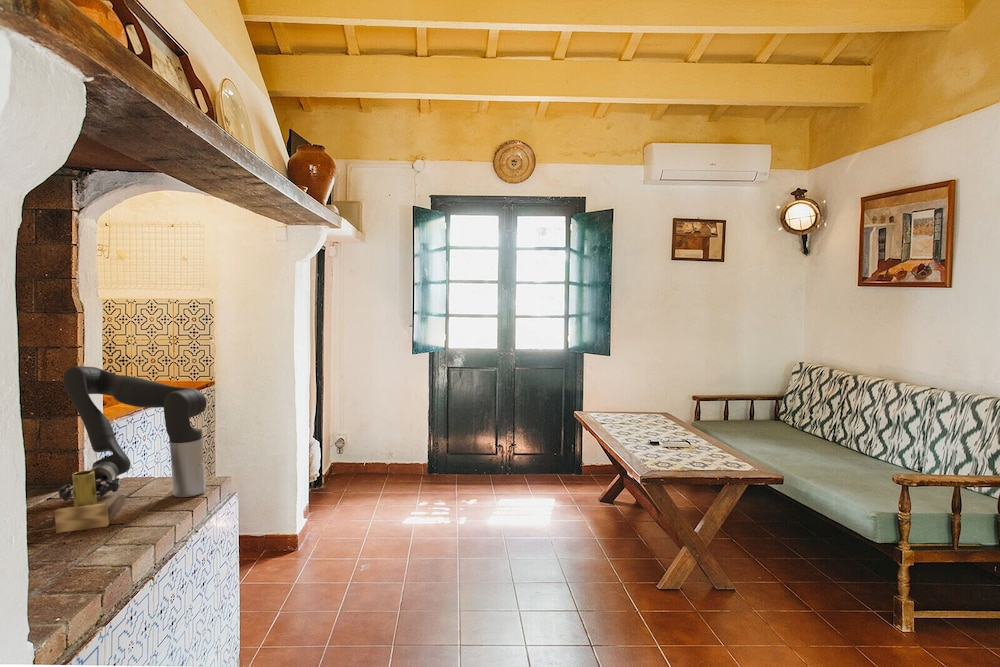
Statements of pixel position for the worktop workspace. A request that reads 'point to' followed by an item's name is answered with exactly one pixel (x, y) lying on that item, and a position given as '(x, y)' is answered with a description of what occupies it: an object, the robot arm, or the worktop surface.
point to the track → (87, 516)
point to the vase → (84, 488)
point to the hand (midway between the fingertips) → (83, 495)
